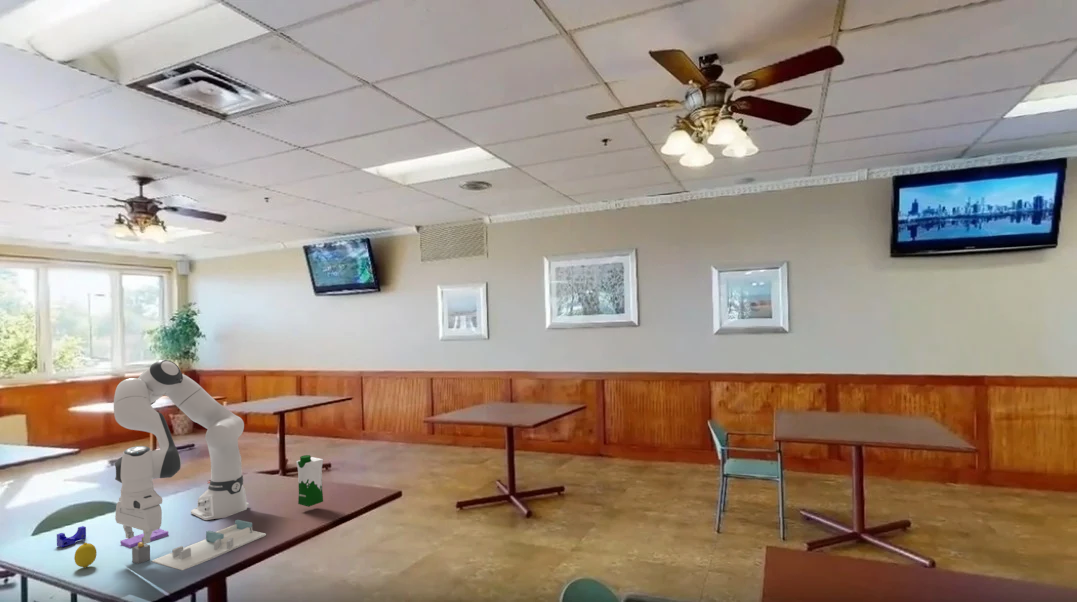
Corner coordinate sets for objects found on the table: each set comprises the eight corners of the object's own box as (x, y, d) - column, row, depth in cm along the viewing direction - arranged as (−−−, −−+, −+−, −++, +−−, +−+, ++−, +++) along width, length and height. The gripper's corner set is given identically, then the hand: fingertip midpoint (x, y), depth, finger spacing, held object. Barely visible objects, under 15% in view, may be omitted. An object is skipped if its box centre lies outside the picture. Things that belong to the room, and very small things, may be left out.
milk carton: (294, 504, 235) (293, 456, 235) (313, 497, 242) (312, 451, 242) (308, 508, 230) (306, 459, 230) (326, 501, 238) (325, 453, 238)
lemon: (82, 564, 183) (82, 539, 183) (100, 563, 183) (100, 538, 183) (70, 572, 177) (69, 547, 177) (88, 571, 178) (88, 546, 178)
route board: (151, 562, 183) (151, 553, 183) (236, 528, 210) (236, 520, 210) (182, 571, 176) (182, 561, 176) (266, 535, 203) (265, 526, 203)
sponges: (168, 536, 205) (168, 531, 205) (129, 549, 195) (128, 544, 195) (159, 532, 209) (159, 527, 209) (120, 545, 198) (119, 540, 199)
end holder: (206, 541, 198) (206, 531, 198) (237, 528, 208) (237, 519, 208) (221, 545, 194) (220, 535, 194) (252, 532, 205) (252, 522, 205)
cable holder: (62, 547, 197) (62, 535, 197) (56, 545, 199) (56, 534, 199) (88, 538, 205) (88, 527, 205) (82, 537, 206) (82, 526, 206)
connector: (132, 563, 183) (131, 543, 183) (143, 558, 186) (143, 539, 186) (138, 564, 182) (138, 545, 182) (150, 560, 185) (149, 541, 185)
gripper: (109, 496, 186) (109, 538, 186) (144, 505, 177) (145, 549, 177) (130, 490, 192) (130, 531, 191) (165, 499, 182) (166, 541, 182)
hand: (137, 540), depth 184 cm, fingers open, 8 cm apart
